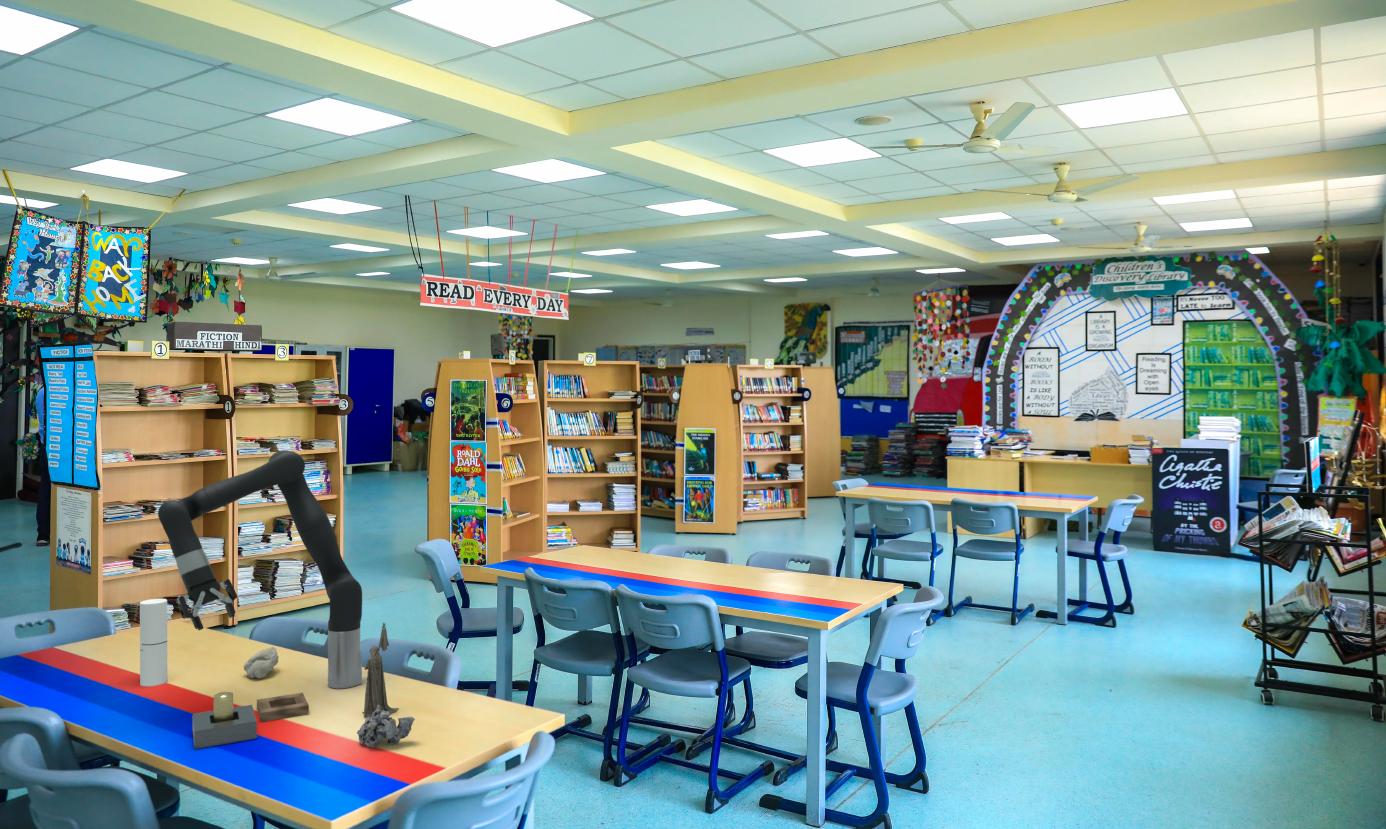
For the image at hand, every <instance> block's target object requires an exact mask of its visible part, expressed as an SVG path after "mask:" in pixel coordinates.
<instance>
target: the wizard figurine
mask: <svg viewBox="0 0 1386 829" xmlns="http://www.w3.org/2000/svg"><path fill="white" fill-rule="evenodd" d="M380 632H381V633H380V636H379V637H380V638H379V642H378V646H377V645H372V646H371V647H370V649H369V655H370V657H368V658H367V660H366V663H365V666H364V670H365V671H366V670H367V675H366V676H367V677H366V684H365V695H364V703H363V704H364V706H363V711H362V714H364V715H363V719H366V718H368V717H372V714H373V712H374V711H375V710H376V708H377V705H380V706H381V707H382V710H384V711H386V712H387V711H389V714H390V716H391V715H393V714H395V713H396V712H397V711H398V709H400V708H399V707H391V706H389V704H388V697H387V691H386V690H387V688H386V682H385V681H386V680H385V673H384V672H385V671H384V665H383V655H381V654H380V650H382V652H386V651H387V650H388V647H389V646H390V643H389V639H388V631H387V627H386V622H383V623H382V627H381V631H380ZM380 648H381V649H380Z"/></svg>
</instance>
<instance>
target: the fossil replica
mask: <svg viewBox="0 0 1386 829" xmlns="http://www.w3.org/2000/svg"><path fill="white" fill-rule="evenodd" d="M277 651H278V649H277V648H276V647H274V646H270V647H268V648H265V649H261V650H260V651H258V652H256V653H255V654H254V655H253V656H251V657H250V658H249V659H248V660H247V661H246V662H245V663H244V665H243V670H244V671H245V673H246V675H247V676H248V677H249V678H250V679H256V678H257V679H260V680H261V679H263V678H265V677H266V676H267V675H268V673H271V671H272V670H273V669H274V667H275V666H277V664H278V663H279V654H278V652H277Z"/></svg>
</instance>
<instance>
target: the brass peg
mask: <svg viewBox="0 0 1386 829" xmlns="http://www.w3.org/2000/svg"><path fill="white" fill-rule="evenodd" d="M233 707H234V692H232V691H222V692H218V693H215V694H214V695H213V711H214V723H218V722H225V721H231V720H233Z"/></svg>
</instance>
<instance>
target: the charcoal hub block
mask: <svg viewBox="0 0 1386 829" xmlns="http://www.w3.org/2000/svg"><path fill="white" fill-rule="evenodd" d="M257 723H258V722H257V717H256V714H255V711H254V707H253V704H247V705H240V706H236V707H235V706H233V720H231V721H225V722H218V723H214V710H210V711H209V710H207V711H202V712H197V713H192V736H193V748H194V750H197V749H202V748H203V749H204V748H208V747H209V748H210V747H214V746H215V747H216V746H220V745H227V744H232V743H233V744H234V743H238V742H244V741H250V740H255V739H257V738H258V731H257V729H258V727H257V726H258V725H257Z"/></svg>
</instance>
